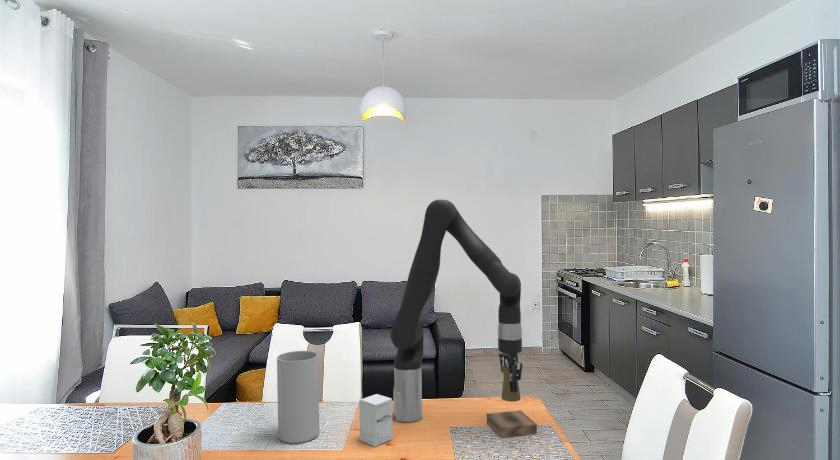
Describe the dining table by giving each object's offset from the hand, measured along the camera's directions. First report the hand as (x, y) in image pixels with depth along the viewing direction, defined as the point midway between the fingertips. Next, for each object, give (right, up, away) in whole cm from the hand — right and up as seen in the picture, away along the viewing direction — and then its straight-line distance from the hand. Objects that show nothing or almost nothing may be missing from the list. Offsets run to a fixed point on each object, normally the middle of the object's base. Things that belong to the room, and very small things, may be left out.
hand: (510, 389), depth 162 cm
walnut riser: (0, -12, 0) cm, 12 cm away
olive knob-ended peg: (0, -3, 0) cm, 3 cm away
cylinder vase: (-67, -14, -3) cm, 68 cm away
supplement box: (-42, -13, -7) cm, 45 cm away
